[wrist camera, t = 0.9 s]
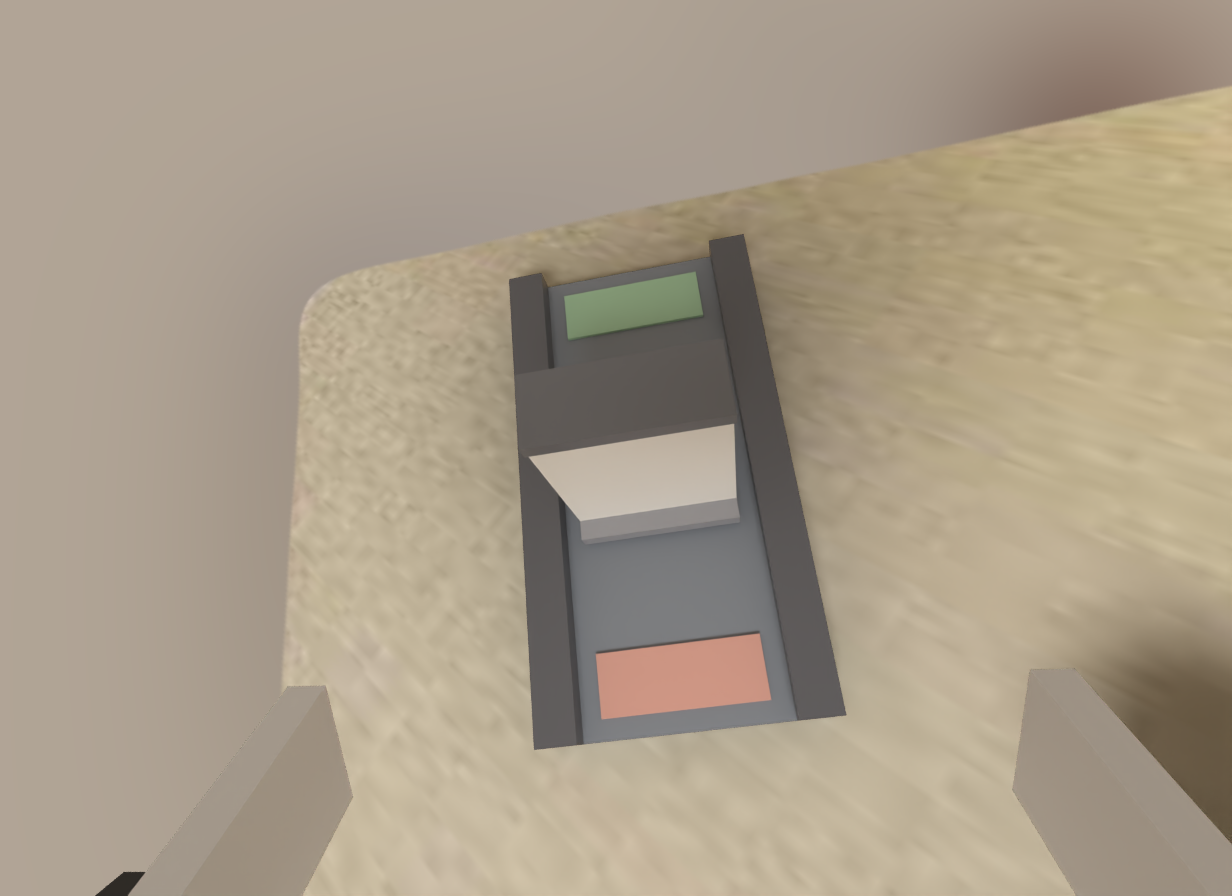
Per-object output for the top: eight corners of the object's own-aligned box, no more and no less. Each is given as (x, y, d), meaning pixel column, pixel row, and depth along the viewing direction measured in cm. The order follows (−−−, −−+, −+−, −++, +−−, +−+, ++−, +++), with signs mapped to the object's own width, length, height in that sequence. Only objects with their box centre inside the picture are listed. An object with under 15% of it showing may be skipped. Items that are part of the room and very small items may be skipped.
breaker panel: (836, 716, 34) (846, 715, 30) (553, 747, 35) (534, 749, 32) (743, 270, 43) (743, 234, 40) (525, 310, 45) (509, 279, 42)
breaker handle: (741, 522, 35) (741, 437, 25) (583, 544, 36) (519, 472, 26) (725, 432, 37) (718, 318, 27) (576, 456, 38) (513, 355, 28)
